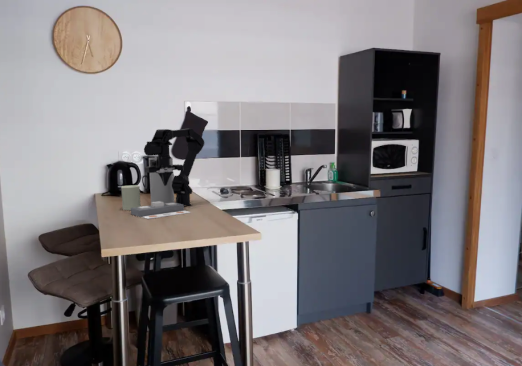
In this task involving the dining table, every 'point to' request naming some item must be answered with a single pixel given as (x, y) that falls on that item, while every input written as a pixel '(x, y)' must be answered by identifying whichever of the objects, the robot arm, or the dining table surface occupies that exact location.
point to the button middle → (157, 204)
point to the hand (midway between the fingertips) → (165, 185)
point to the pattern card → (166, 214)
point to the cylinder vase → (161, 187)
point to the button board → (157, 210)
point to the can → (130, 197)
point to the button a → (143, 207)
